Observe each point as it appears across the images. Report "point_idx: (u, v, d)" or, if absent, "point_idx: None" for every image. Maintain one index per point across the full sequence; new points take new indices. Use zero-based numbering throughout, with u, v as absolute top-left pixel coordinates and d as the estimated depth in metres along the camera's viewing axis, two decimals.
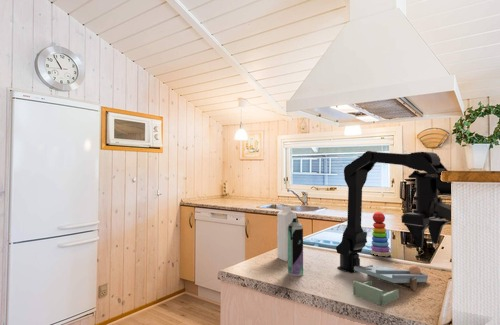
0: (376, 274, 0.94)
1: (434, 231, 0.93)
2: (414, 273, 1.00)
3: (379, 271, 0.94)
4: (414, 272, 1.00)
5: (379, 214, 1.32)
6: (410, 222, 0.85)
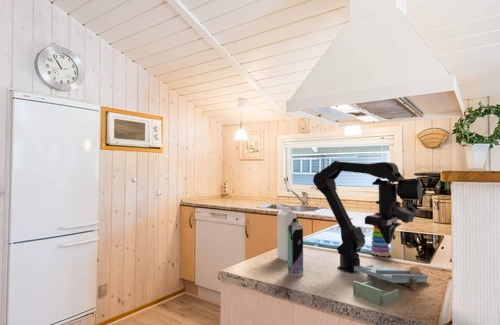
0: (376, 274, 0.94)
1: None
2: (414, 273, 1.00)
3: (379, 271, 0.94)
4: (414, 272, 1.00)
5: None
6: (371, 223, 0.98)
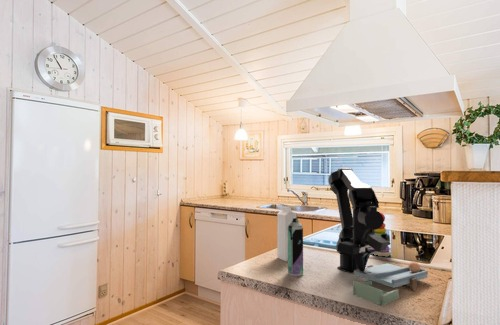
0: (376, 279, 0.93)
1: None
2: (414, 270, 1.00)
3: (378, 275, 0.93)
4: (414, 269, 1.00)
5: None
6: (343, 251, 0.95)
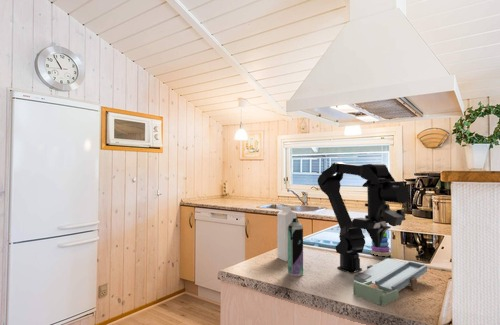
0: None
1: None
2: None
3: (378, 281, 0.93)
4: None
5: None
6: (357, 226, 0.97)
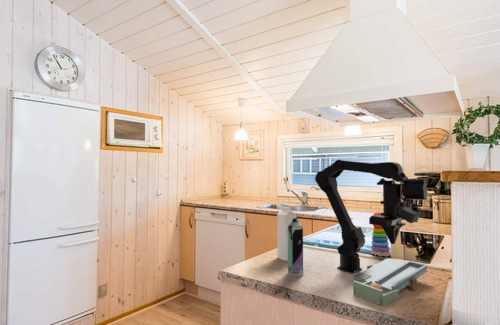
0: None
1: None
2: None
3: (378, 281, 0.93)
4: None
5: (379, 214, 1.32)
6: (376, 223, 0.98)
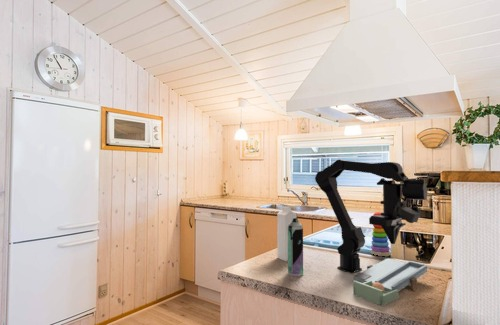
0: None
1: None
2: None
3: (378, 281, 0.93)
4: None
5: (379, 214, 1.32)
6: (376, 223, 0.98)
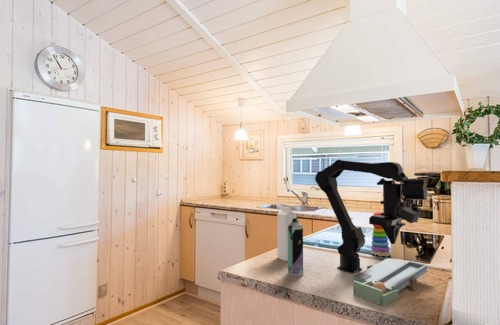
0: None
1: None
2: None
3: (378, 281, 0.93)
4: None
5: (379, 214, 1.32)
6: (376, 223, 0.98)
